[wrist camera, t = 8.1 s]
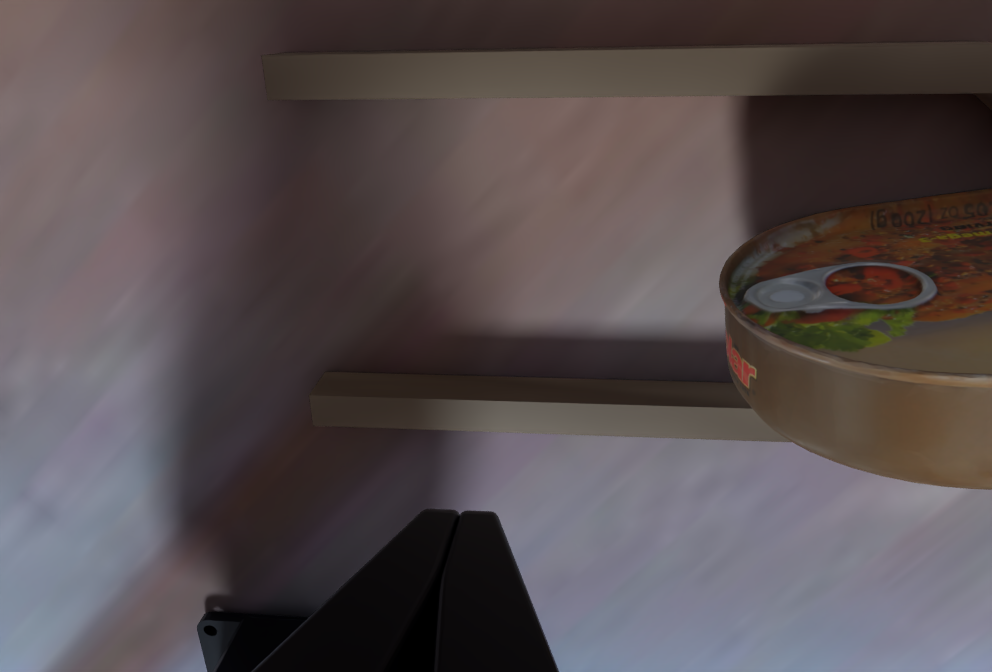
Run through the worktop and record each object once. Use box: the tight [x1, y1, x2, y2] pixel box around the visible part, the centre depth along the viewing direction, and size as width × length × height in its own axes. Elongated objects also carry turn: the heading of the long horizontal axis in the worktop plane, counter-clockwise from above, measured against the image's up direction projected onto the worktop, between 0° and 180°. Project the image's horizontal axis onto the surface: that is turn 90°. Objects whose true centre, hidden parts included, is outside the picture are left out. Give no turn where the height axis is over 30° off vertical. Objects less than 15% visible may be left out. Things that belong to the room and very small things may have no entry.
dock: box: [261, 41, 992, 442], centre depth 18 cm, size 10×27×3 cm, turn 91°
